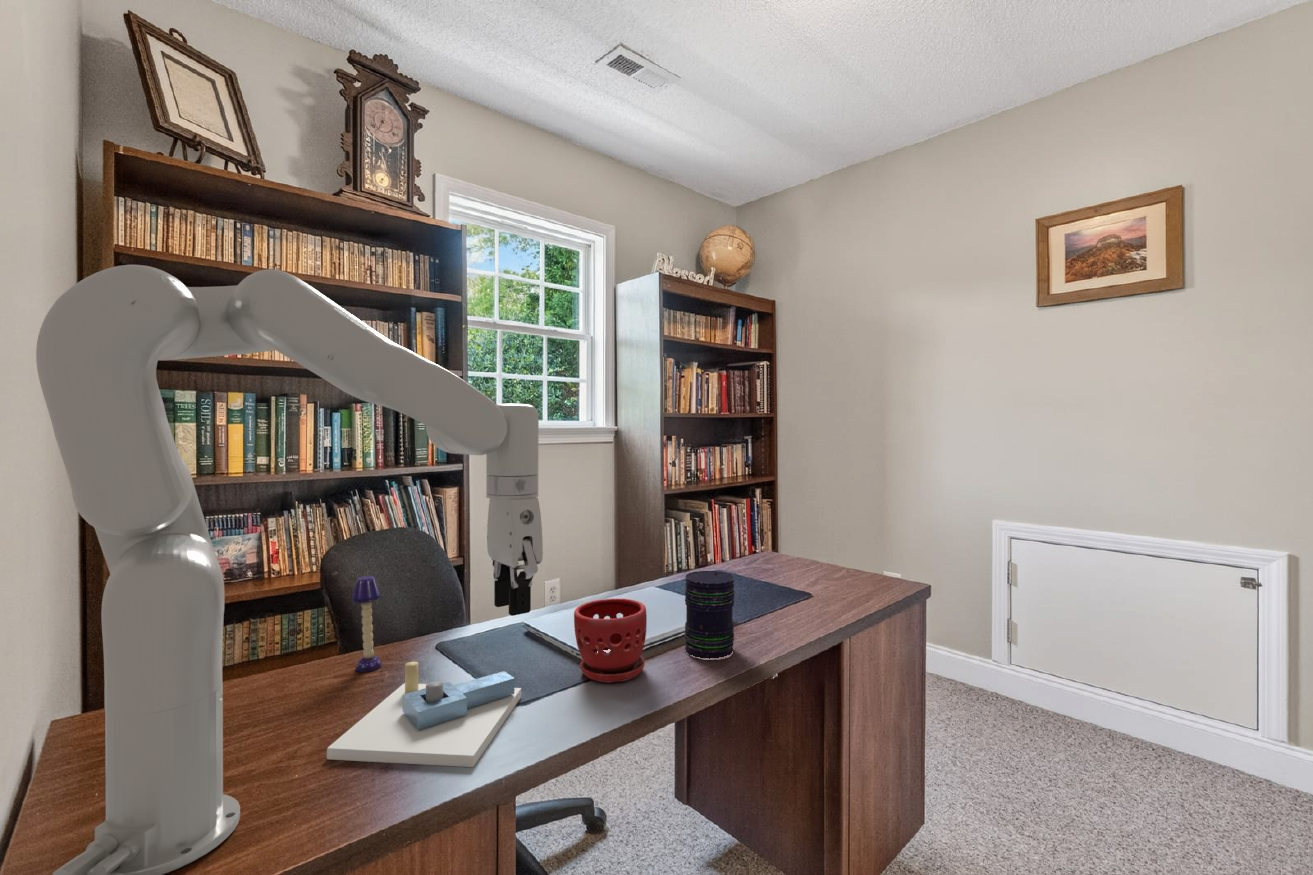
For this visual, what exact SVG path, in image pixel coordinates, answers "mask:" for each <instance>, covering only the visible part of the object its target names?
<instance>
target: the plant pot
mask: <svg viewBox="0 0 1313 875" xmlns="http://www.w3.org/2000/svg"><path fill="white" fill-rule="evenodd" d="M646 607H647V606H646V605H645V604H643V603H642V602H640V601H639V600H635V599H629V598H604V599H598V600H591V601H588V602H585V603H582V604H581V605H579V606H577V607H576V608H575V610H574V612H573V623H574V624H573V627H574V635H575V636H574V637H575V641H576V646H577V649H578V652H579V655H580V656H581V659H582V660H581V661H580V664H579V666H580V670H581V672H582V673H583V675H584V676H586V677H587V678H588V679H590V680H593V681H597V682H601V683H604V684H608V683H618V682H624V681H628V680H630V679H633V678H634V677H635V678H636V677H637V676H638V675H639V674H640V673H641V672H643V670H644V667H645V664H646V662H645V659H644V657H643V656H642V654H643V650H644V647H645V642H646V637H647V627H648V626H647V622H648V620H647V608H646ZM618 614H621V615H622V617H617V616H618ZM596 615H598V618H594V616H596ZM607 617H609V618H607ZM608 649H610V650H611V651H610V652H609V653H606V652H604V651H603V650H608ZM597 651H598V653H597Z"/></svg>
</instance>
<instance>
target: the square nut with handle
mask: <svg viewBox="0 0 1313 875" xmlns="http://www.w3.org/2000/svg"><path fill="white" fill-rule="evenodd" d="M514 688H515V678H514V676H512V675H511V674H509V673H508V672H506V671H499V672H497V673H493V674H489V675H486V676H481V677H479V678H475V679H471V680H467V681H464V682H461V683H457V684H452V683H451V682H450V681H446V682H443V699H440V700H437V701H433V702H430V703H427V702H426V688H425V689H421V690H418V691H414V692H410V693H407V694H403V697H402V711H403V713H404V714H405V715H406V716H407V717H408V718H409V720H410V721H411V722H412V723H413V724H414V726H415V727H416V728H417V729H418V730H420V729H423V728H426V727H429V726H432V725H435V724H438V723H441V722H445V721H448V720H451V719H454V718H457V717H460V716H463V715H466V714H467V708H471V707H474V706H477V705H480V704H483V703H487V702H490V701H493V700H496V699H499V698H503V697H506V696H509V695H512V694H514Z"/></svg>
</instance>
